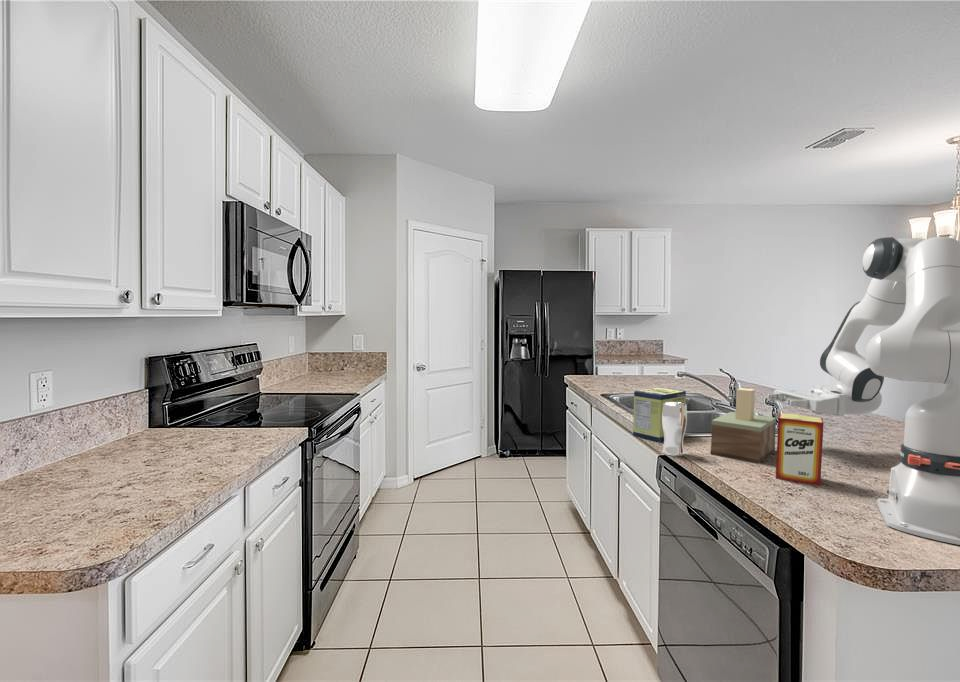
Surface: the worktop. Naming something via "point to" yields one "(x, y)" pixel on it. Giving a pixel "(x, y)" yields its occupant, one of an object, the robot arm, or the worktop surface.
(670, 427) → the beer glass
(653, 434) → the protein box
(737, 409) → the lid
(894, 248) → the robot arm
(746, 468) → the worktop surface
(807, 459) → the baking soda box
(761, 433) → the open wooden box
